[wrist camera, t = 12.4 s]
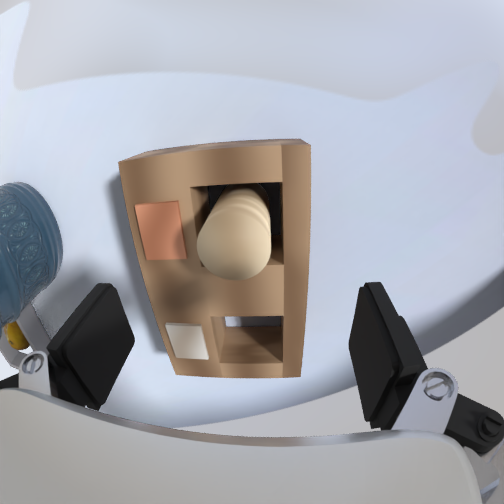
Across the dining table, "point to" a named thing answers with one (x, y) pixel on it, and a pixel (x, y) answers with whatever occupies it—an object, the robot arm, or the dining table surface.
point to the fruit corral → (32, 333)
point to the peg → (237, 233)
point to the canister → (25, 248)
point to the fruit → (15, 336)
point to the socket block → (200, 278)
